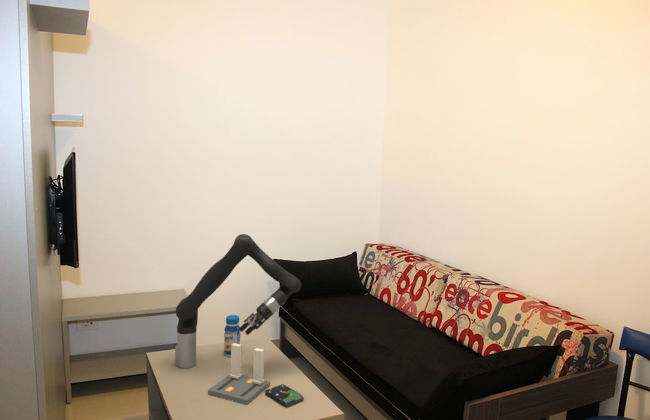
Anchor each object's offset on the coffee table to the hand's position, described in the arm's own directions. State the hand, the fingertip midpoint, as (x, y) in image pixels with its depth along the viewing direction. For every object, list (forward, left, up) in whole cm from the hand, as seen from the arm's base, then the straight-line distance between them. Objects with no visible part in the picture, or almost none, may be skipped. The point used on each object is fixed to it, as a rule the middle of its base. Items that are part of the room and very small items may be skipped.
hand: (243, 332), depth 246 cm
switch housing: (+6, -11, -22) cm, 26 cm away
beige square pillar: (0, -5, -20) cm, 20 cm away
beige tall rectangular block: (+12, -5, -20) cm, 24 cm away
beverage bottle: (-19, +21, -22) cm, 36 cm away
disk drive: (+27, -8, -23) cm, 36 cm away
